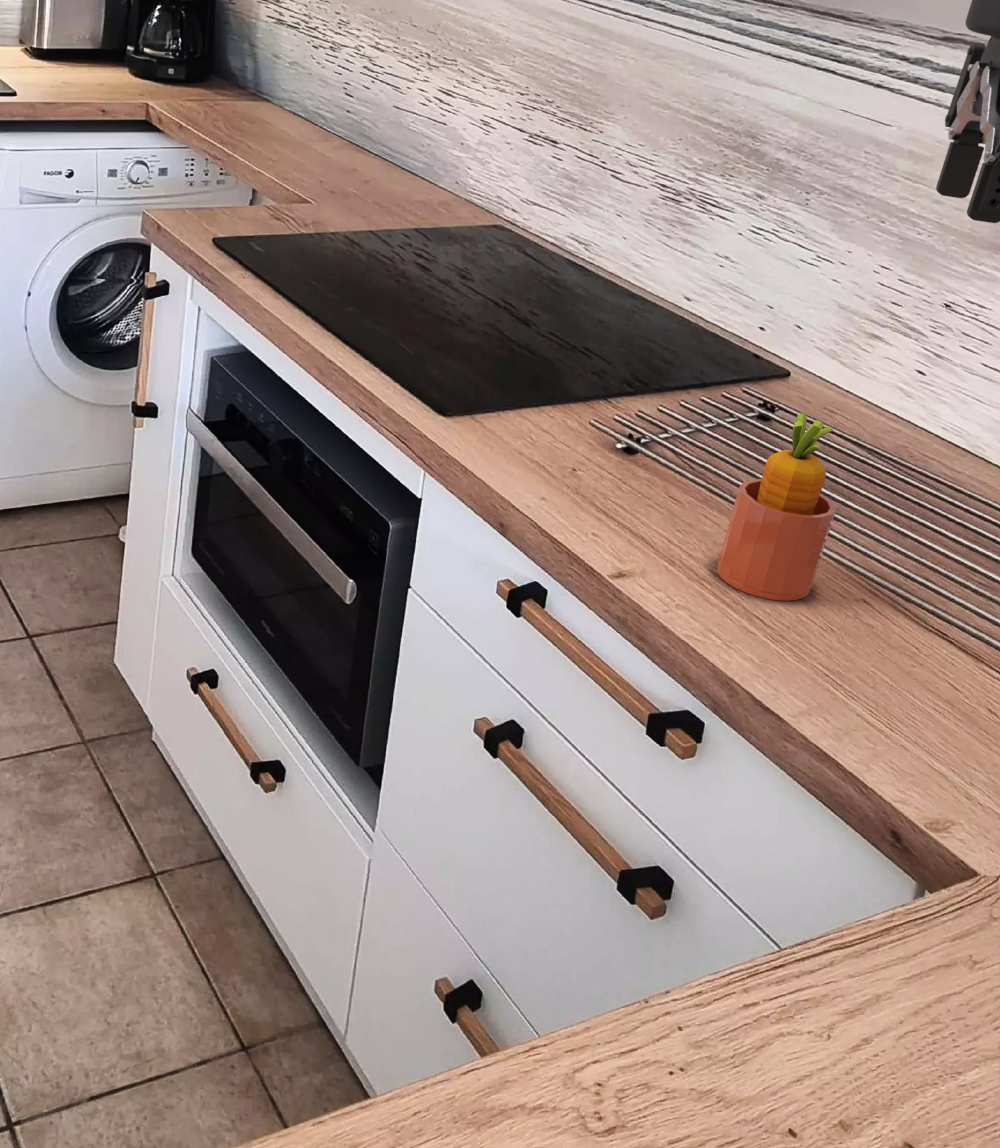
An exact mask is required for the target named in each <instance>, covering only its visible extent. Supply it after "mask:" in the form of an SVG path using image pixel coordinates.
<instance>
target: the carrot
mask: <svg viewBox="0 0 1000 1148" xmlns="http://www.w3.org/2000/svg"><path fill="white" fill-rule="evenodd" d="M807 419H808V417H807V414H806V413H805V412H804V413H802V412H801V413H798V414H797V415H796V421H795V422H794V423H793V428H792V434H791V435H792V449H784V450H781V451H778V452H775V453H773V454H771V455H769V457H768V458H767V460H766V462H765V465H764V468H763V469H764V470H763V473H762V477H761V479H762V481H761V484H760V489H759V493H758V498H757V502H759V503H761V504H763V505H765V506H768V507H770V508H773V509H777V510H780V511H783V512H787V513H793V514H799V515H812V514H813V511H814V509H815V506H816V504H817V501H818V498H819V495H820V494H822V493H821V492H822V489H823V486H824V484H825V481H826V477H827V470H826V468H825V466H824V465H823V463H822V462H821V460H819V458H817V457H816V456H815V455H813V454H814V453H815V452H817V451H819V450H820V449H821V445H820V444H818V443H817V444H816V442H817V441H819V440H820V439H821V438H822V437H824V436H825V435H827V434H830V433H832V432H833V431H834V429H833V427H831V426H826V427H824V426H825V424H824V423H823V422H822V421H821V420H815V421H814V422H813V423H812V424H811V425H810V427H808V429H807ZM806 429H807V430H806Z"/></svg>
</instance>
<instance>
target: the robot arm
mask: <svg viewBox="0 0 1000 1148" xmlns="http://www.w3.org/2000/svg"><path fill="white" fill-rule="evenodd" d="M965 26H966V28H967V29H968V30H969V31H970V32H973V33H976V34H980V35H983V36H989V37H990V38H989V39H988V42H987V43H980V42H972V43H971V44H970V46H969V47H968V49H967V52H966V56H965V59H964V63H963V66H962V69H961V72H960V75H959V78H958V81H957V84H956V86H955V90H954V93H953V96H952V99H951V102H950V106H949V108H948V111H947V114H946V115H945V117H944V126H945V127H946V128H948V140H950V143H949V146H948V149H947V152H946V155H945V158H944V161H943V164H942V168H941V170H940V174H939V177H938V181H937V183H936V186H935V190H936V192H937V193H938V194H939V195H941V196H943V197H950V198H957V199H965V198H966V197H968V196H969V195H970V194H971V190H972V187H973V184H974V181H975V177H976V175H977V172H978V168H979V165H980V164H981V166H980V170H979V172H978V176H977V178H976V183H975V185H974V188H973V191H972V194H971V197H970V200H969V203H968V207H967V210H966V215H967V216H968V217H969V218H970V219H971V220H972V221H975V222H984V223H990V224H998V223H1000V0H971V1H970V5H969V8H968V12H967V15H966V18H965ZM982 145H985V147H984V146H982ZM983 153H984V154H983ZM982 156H983V162H982V163H980V162H981V160H982Z"/></svg>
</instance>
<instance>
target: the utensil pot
mask: <svg viewBox="0 0 1000 1148" xmlns="http://www.w3.org/2000/svg"><path fill="white" fill-rule="evenodd" d="M761 481H762V478H754V479H749V480H746V481H743V482H742V483H741V485H739V487H738V490H737V494H736V498H735V501H734V505H733V508H732V512H731V515H730V518H729V522H728V526H727V529H726V532H725V535H724V540H723V543H722V546H721V550H720V554H719V557H718V561H717V567H716V572H717V574H718V576H719V577H720V579H722V580H723V581H724V582H725V583H727V584H728V585H729V586H731V587H733V588H735V589H737V590H738V591H741V592H743V593H745V594H748V595H752V596H755V597H758V598H762V599H766V600H774V601H781V602H782V601H783V602H785V601H786V602H789V601H797V600H801V599H803V598H805V597H807V596H808V595H809V593H810V591H811V588H812V586H813V583H814V580H815V577H816V575H817V571H818V567H819V564H820V561H821V559H822V555H823V553H824V549H825V546H826V543H827V540H828V536H829V533H830V530H831V527H832V523H833V522H834V518H835V514H836V511H837V508H836V506H835V504H834V502H833V501H832V500H831V499H830V498H828V497H827V496H825V495H824V494H822V493H820V495H819V498H818V501H817V504H816V506H815V509H814V511H813V514H812V515H799V514H793V513H787V512H783V511H780V510H777V509H773V508H770V507H768V506H765V505H763V504H761V503H759V502H757V498H758V493H759V489H760V484H761Z"/></svg>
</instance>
